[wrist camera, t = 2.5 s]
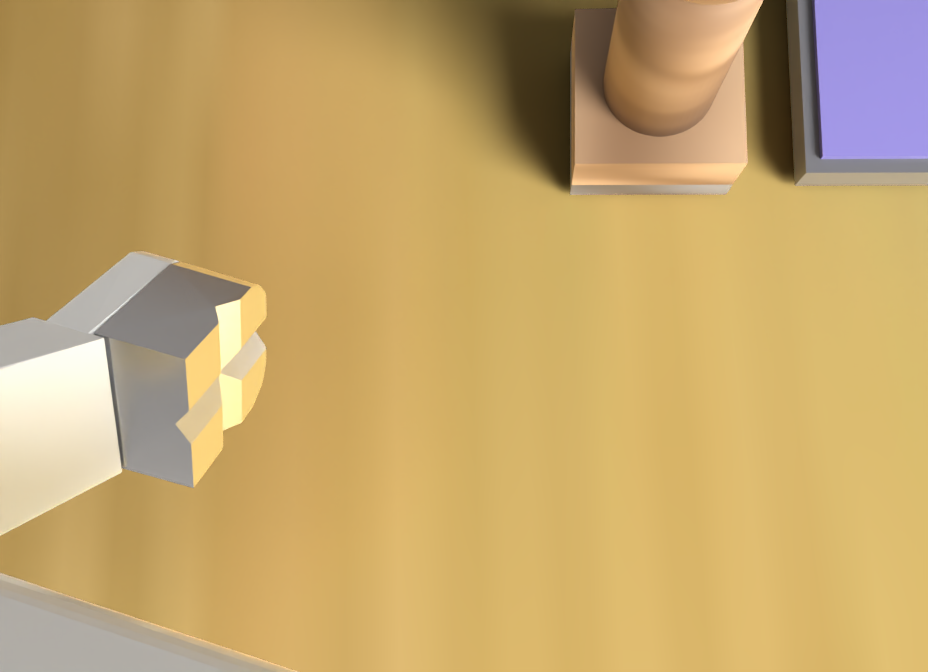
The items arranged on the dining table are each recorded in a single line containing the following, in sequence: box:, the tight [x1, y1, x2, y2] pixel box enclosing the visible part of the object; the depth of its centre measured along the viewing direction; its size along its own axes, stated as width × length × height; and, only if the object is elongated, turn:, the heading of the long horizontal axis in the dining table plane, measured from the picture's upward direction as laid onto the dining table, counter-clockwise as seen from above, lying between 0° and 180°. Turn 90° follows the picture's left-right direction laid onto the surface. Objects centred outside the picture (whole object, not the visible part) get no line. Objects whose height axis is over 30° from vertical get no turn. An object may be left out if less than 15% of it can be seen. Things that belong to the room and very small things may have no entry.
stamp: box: [570, 0, 763, 195], centre depth 19 cm, size 4×4×11 cm
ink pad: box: [786, 0, 928, 186], centre depth 24 cm, size 6×8×1 cm
